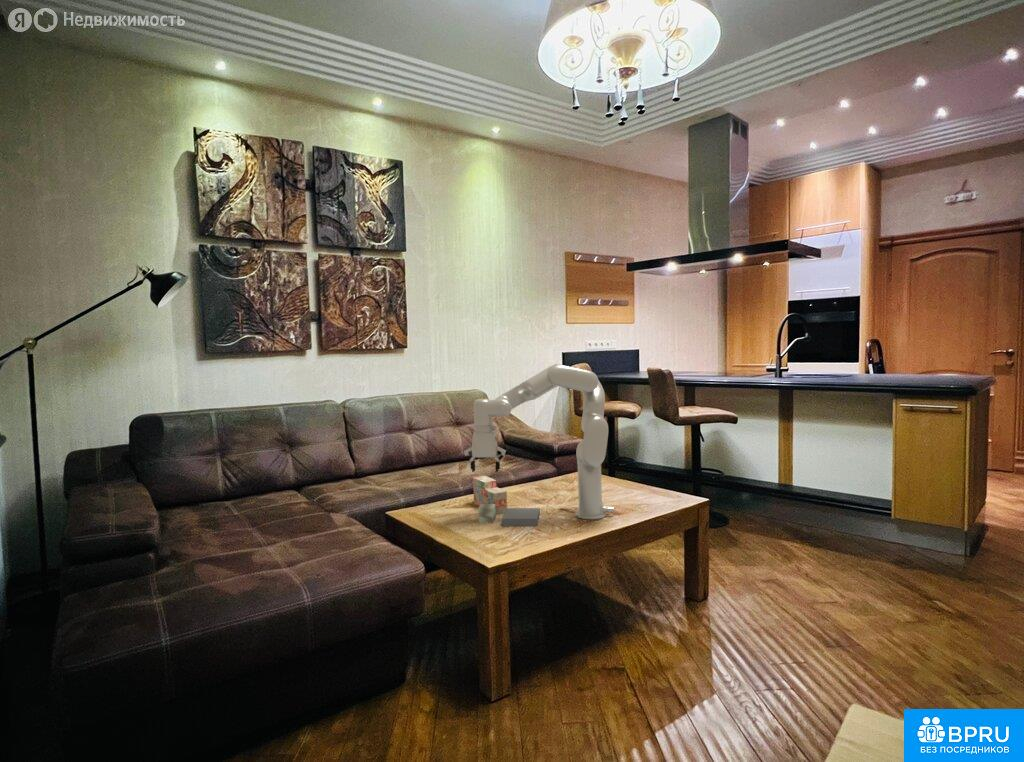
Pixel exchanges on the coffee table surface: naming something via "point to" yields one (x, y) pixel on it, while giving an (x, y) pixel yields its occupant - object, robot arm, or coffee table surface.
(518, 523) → the plinth
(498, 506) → the stack of blocks
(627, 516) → the coffee table surface
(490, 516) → the sage cube
